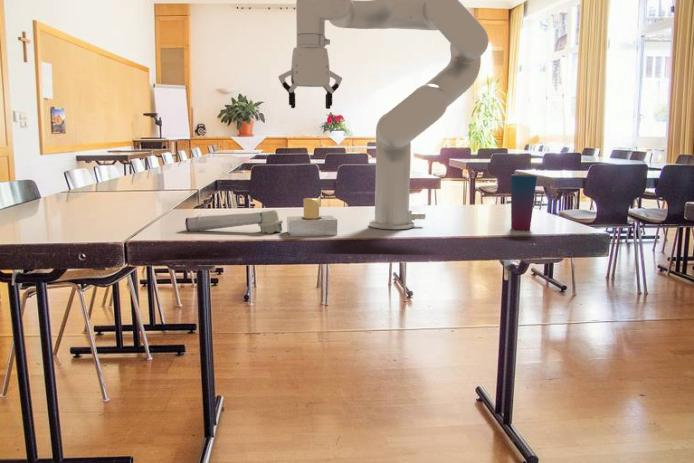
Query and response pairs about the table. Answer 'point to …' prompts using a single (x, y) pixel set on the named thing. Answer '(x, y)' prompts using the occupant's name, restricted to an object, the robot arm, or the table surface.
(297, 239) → the table surface
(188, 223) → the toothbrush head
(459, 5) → the robot arm
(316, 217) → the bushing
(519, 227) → the cup
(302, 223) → the block
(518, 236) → the table surface
